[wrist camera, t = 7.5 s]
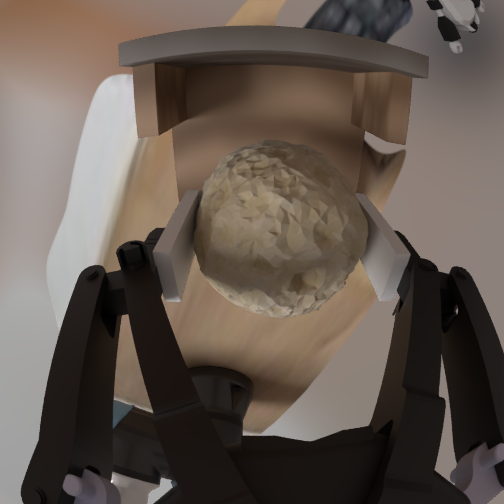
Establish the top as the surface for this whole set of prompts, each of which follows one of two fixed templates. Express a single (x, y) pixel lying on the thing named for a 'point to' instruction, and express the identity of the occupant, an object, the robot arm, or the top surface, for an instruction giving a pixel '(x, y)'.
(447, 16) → the robot toy
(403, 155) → the top surface
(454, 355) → the robot arm
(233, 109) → the walnut shelf
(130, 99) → the top surface
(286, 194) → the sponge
